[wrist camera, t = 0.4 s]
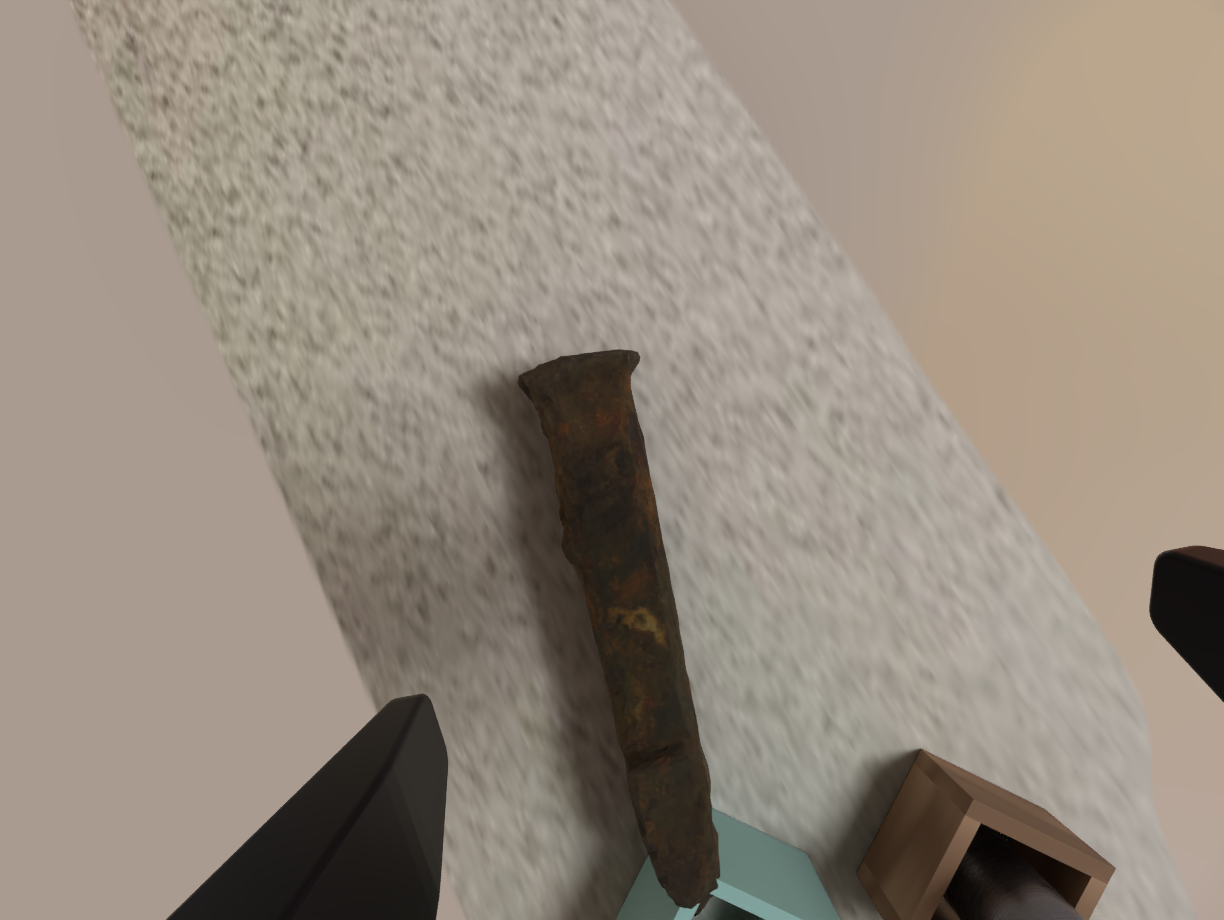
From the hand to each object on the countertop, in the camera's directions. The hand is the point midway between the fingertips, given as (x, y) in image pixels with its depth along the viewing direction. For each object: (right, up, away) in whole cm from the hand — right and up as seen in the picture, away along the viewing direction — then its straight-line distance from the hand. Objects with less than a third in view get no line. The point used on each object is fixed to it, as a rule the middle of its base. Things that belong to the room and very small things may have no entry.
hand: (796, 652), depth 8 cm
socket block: (+11, -12, +18) cm, 24 cm away
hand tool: (-1, -3, +17) cm, 17 cm away
